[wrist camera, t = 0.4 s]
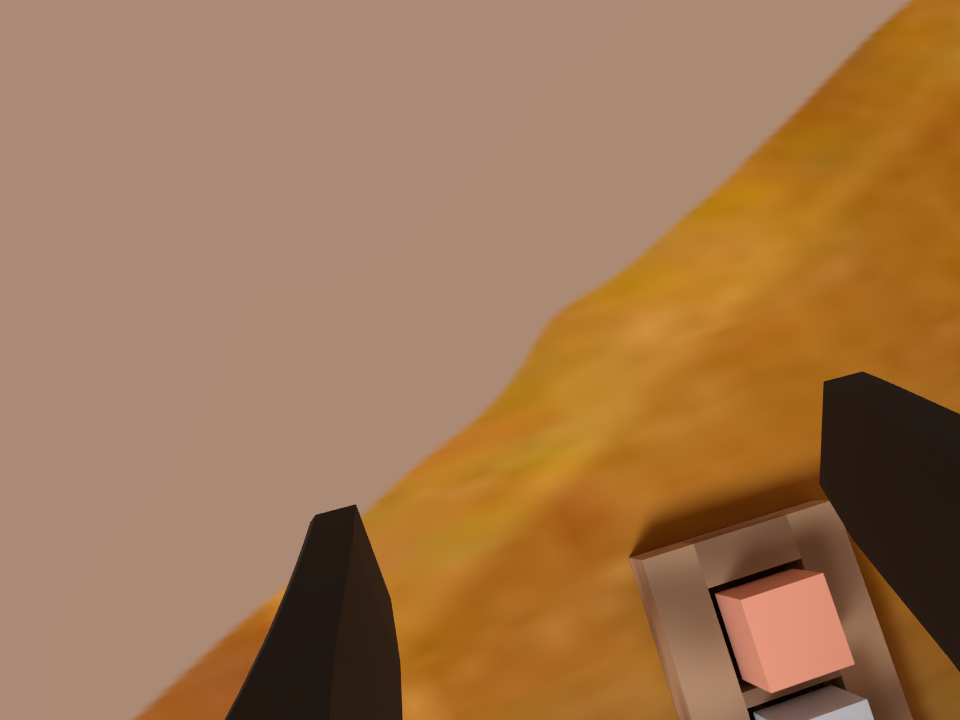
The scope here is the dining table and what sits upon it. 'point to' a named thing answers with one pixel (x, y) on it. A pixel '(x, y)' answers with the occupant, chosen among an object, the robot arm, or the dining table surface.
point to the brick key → (784, 629)
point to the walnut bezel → (741, 552)
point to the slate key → (819, 707)
